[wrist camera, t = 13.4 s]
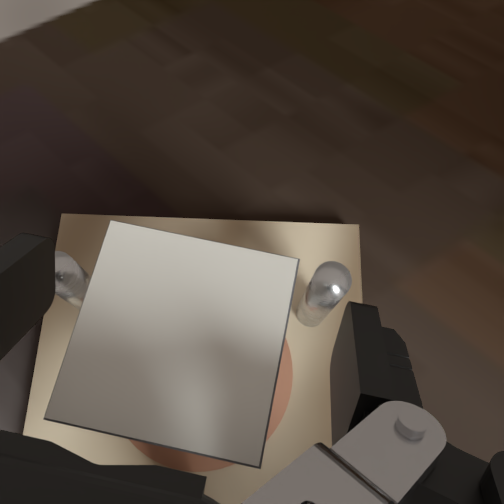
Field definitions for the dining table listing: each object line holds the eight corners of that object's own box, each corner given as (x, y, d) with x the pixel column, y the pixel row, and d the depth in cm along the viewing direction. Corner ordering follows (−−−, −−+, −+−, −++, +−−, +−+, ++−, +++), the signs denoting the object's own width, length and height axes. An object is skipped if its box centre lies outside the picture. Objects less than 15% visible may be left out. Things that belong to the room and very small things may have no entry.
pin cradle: (352, 234, 22) (393, 168, 16) (366, 558, 18) (427, 626, 12) (70, 224, 22) (9, 153, 16) (16, 548, 18) (-94, 612, 12)
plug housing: (273, 328, 19) (300, 257, 11) (250, 445, 18) (260, 469, 9) (165, 304, 20) (109, 217, 11) (134, 419, 18) (41, 419, 10)
